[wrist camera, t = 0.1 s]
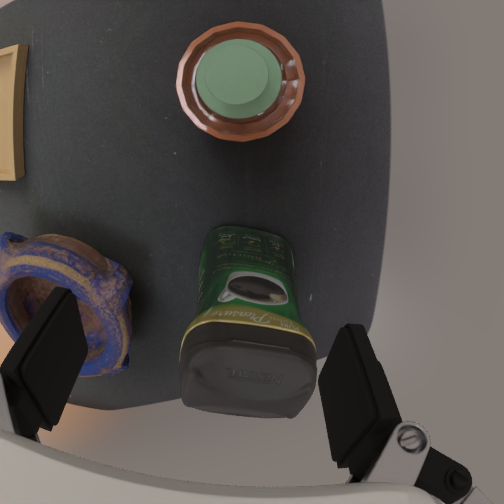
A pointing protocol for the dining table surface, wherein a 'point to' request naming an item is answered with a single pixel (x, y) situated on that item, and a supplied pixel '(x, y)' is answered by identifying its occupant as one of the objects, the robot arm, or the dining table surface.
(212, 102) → the bottle
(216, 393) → the coffee jar
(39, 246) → the bowl
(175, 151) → the dining table surface
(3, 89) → the tray
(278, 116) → the clay bowl
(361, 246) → the dining table surface
